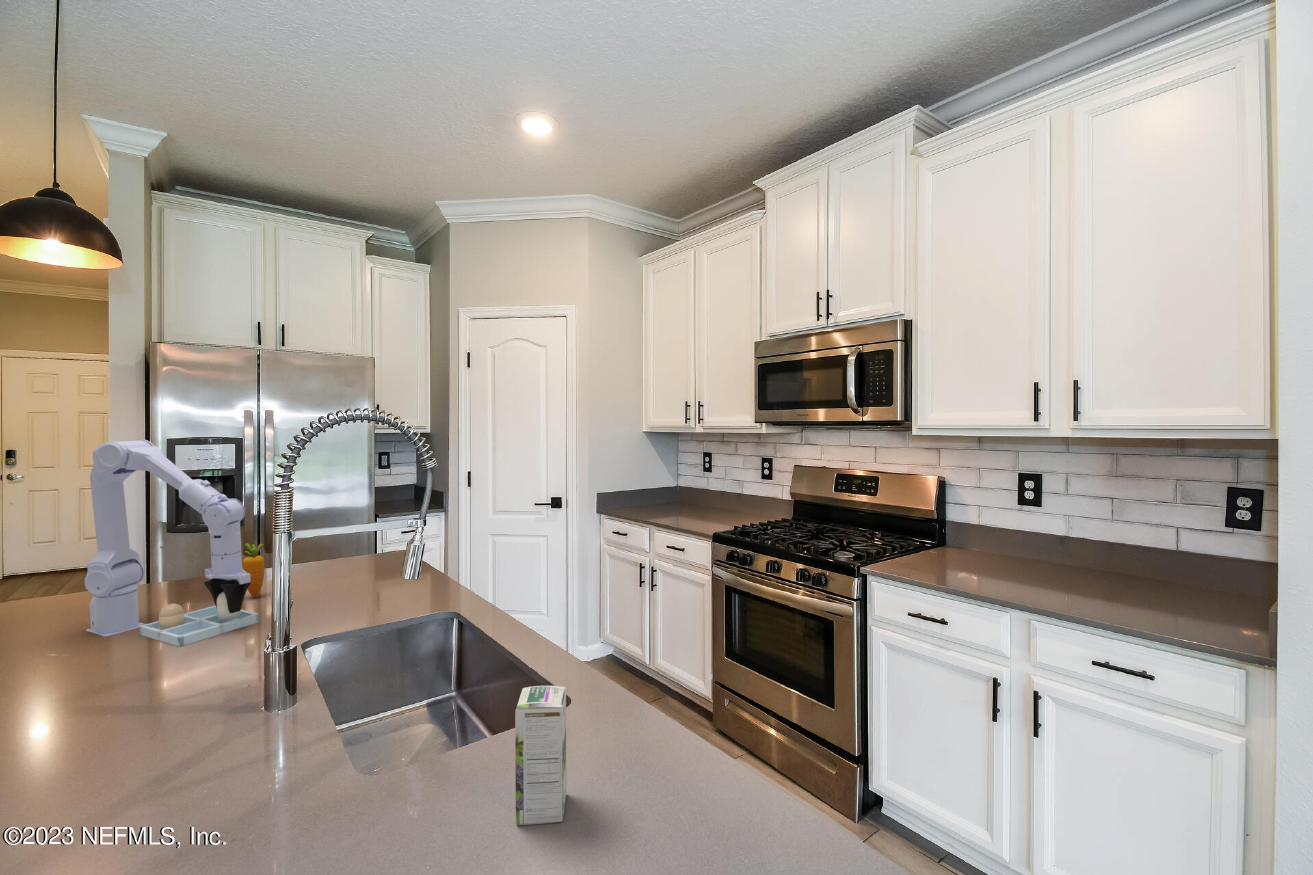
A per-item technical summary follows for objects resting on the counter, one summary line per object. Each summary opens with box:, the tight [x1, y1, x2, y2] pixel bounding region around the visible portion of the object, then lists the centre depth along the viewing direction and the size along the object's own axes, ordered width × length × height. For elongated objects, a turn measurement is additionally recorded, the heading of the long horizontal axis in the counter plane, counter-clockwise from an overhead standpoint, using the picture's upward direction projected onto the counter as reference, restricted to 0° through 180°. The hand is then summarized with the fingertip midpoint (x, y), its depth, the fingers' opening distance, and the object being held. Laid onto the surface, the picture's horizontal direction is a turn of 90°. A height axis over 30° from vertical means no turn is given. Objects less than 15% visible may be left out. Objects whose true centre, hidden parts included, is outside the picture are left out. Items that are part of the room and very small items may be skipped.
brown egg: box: [158, 603, 185, 630], centre depth 136 cm, size 4×4×6 cm
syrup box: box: [514, 685, 567, 826], centre depth 75 cm, size 6×6×14 cm
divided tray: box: [138, 605, 261, 648], centre depth 138 cm, size 16×16×2 cm
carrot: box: [242, 542, 265, 599], centre depth 162 cm, size 5×5×15 cm
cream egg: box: [217, 592, 241, 620], centre depth 140 cm, size 4×4×6 cm
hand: (228, 610), depth 140 cm, fingers closed on cream egg, 4 cm apart
